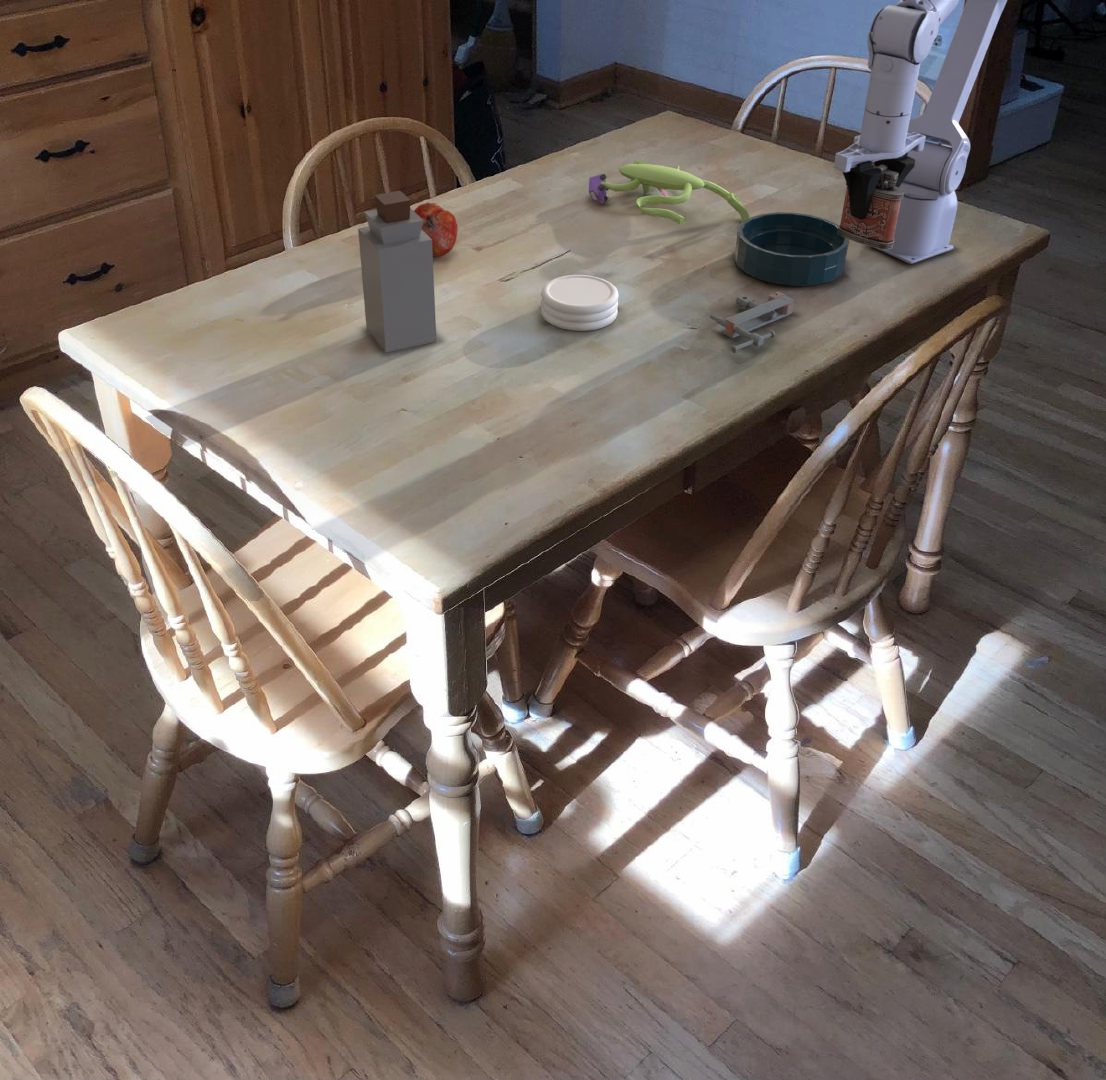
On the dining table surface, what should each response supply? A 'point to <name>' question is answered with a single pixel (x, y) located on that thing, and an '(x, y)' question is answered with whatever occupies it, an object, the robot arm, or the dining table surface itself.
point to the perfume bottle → (397, 275)
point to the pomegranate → (438, 227)
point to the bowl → (790, 249)
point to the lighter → (875, 214)
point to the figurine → (660, 188)
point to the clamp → (768, 311)
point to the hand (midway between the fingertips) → (869, 213)
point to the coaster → (579, 302)
